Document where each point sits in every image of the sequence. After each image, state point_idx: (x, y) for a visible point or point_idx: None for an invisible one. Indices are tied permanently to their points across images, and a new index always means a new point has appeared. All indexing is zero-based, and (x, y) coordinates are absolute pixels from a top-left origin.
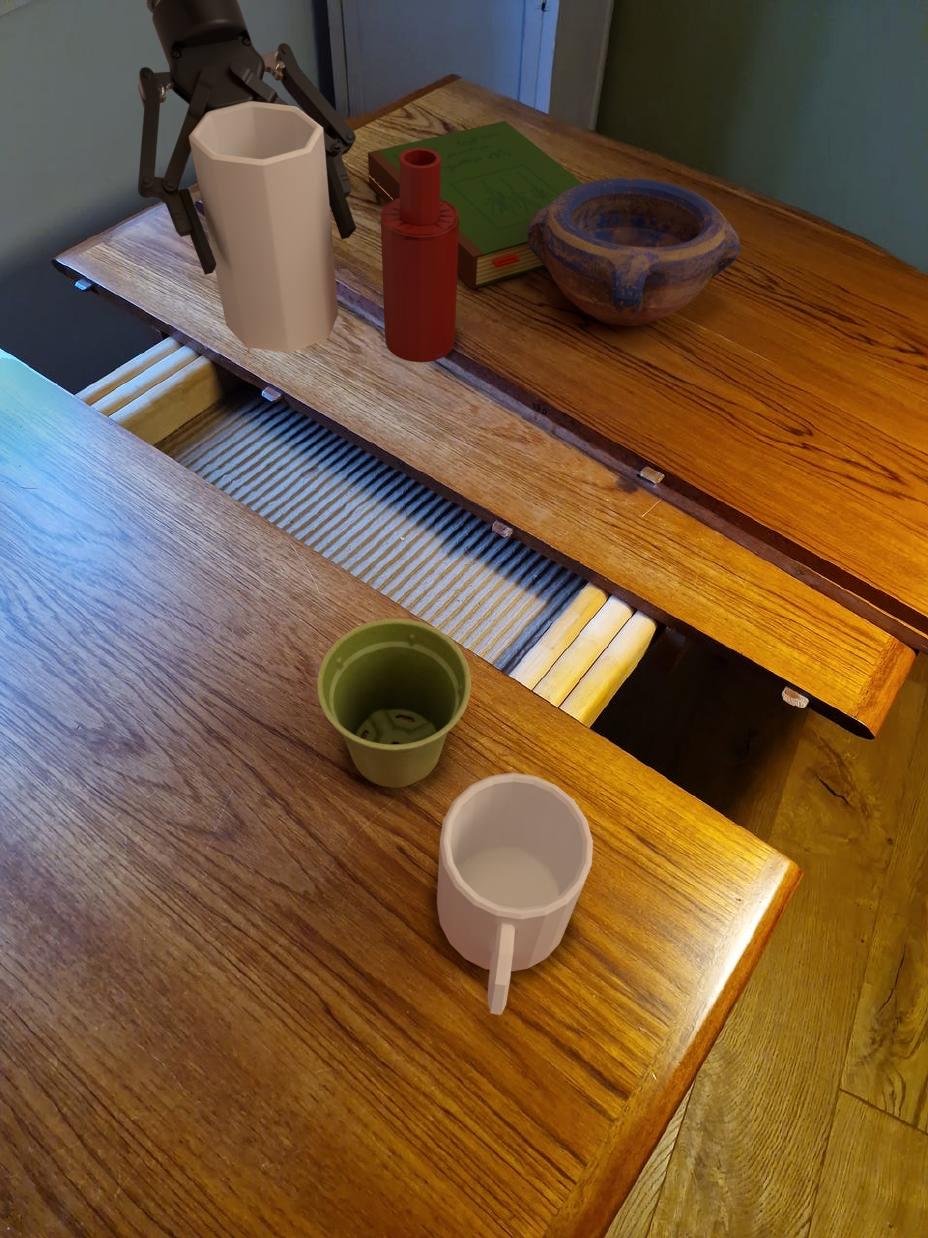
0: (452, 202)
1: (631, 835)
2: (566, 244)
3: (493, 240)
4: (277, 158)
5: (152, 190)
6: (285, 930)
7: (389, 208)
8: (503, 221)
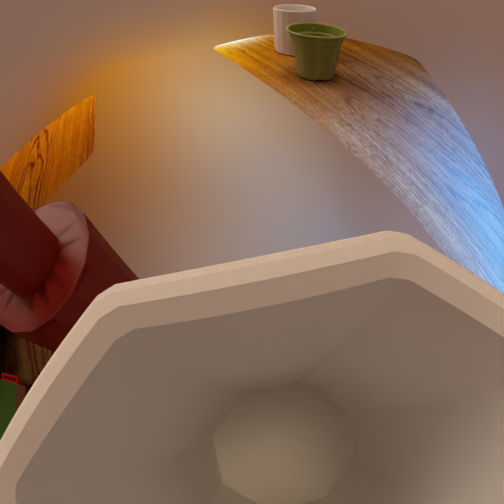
0: None
1: (246, 52)
2: None
3: (2, 398)
4: (315, 253)
5: None
6: (360, 60)
7: (50, 303)
8: None
